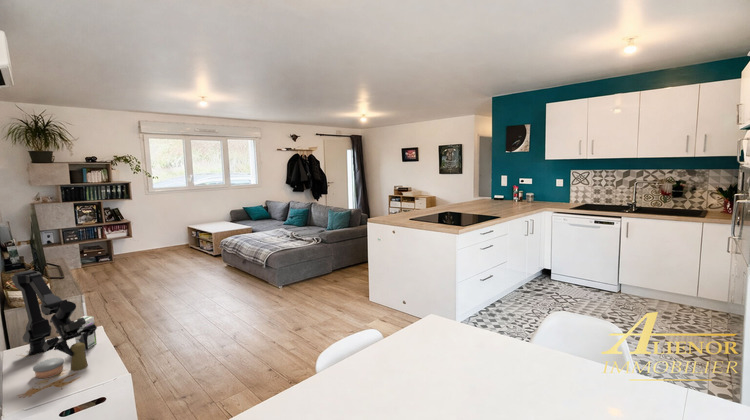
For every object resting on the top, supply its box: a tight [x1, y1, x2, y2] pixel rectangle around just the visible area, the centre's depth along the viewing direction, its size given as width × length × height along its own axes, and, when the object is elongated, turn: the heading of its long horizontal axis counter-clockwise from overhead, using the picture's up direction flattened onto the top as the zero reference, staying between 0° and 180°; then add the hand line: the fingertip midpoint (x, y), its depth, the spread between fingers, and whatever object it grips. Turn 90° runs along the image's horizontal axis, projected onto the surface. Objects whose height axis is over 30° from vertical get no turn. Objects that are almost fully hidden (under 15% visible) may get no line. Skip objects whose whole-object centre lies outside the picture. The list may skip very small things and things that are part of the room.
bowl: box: [34, 363, 64, 379], centre depth 157 cm, size 9×9×3 cm
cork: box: [69, 342, 89, 372], centre depth 162 cm, size 6×6×11 cm
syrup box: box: [73, 315, 97, 349], centre depth 180 cm, size 6×6×14 cm
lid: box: [32, 357, 65, 373], centre depth 157 cm, size 10×10×1 cm
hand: (80, 352), depth 161 cm, fingers open, 5 cm apart
